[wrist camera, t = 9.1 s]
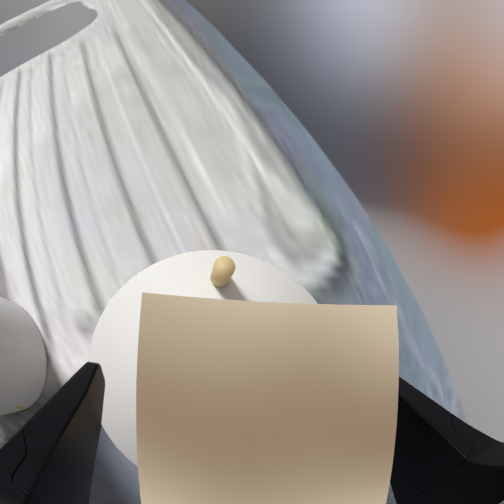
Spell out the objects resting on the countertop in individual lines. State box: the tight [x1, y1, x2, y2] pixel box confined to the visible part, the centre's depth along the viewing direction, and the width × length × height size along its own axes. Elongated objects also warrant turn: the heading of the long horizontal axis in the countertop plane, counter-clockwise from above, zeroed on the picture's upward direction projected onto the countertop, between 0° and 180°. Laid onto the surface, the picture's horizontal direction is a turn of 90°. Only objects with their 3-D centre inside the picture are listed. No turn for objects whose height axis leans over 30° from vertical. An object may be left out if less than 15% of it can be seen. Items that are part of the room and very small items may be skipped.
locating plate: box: [88, 250, 318, 467], centre depth 16 cm, size 16×16×4 cm
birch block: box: [136, 292, 399, 504], centre depth 10 cm, size 5×5×13 cm
